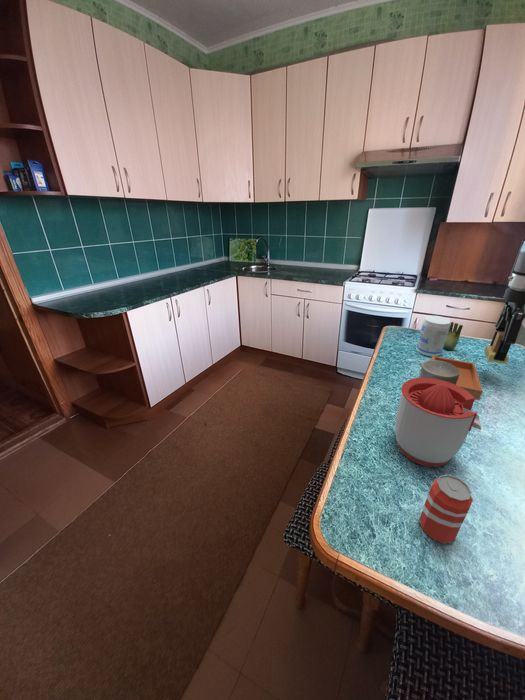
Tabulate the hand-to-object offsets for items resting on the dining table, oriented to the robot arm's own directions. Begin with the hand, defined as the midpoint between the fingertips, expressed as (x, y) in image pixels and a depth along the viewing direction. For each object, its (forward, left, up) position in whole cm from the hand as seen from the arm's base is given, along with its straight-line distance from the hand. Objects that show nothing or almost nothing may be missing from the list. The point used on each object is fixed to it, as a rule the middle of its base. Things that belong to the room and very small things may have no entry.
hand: (496, 354), depth 99 cm
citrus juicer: (+19, +47, -10) cm, 52 cm away
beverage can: (+17, +68, -10) cm, 71 cm away
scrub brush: (0, 0, -1) cm, 1 cm away
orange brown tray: (+11, +6, -10) cm, 16 cm away
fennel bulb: (+11, -21, -10) cm, 26 cm away
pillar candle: (+18, +26, -10) cm, 33 cm away
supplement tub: (+18, -14, -10) cm, 25 cm away
